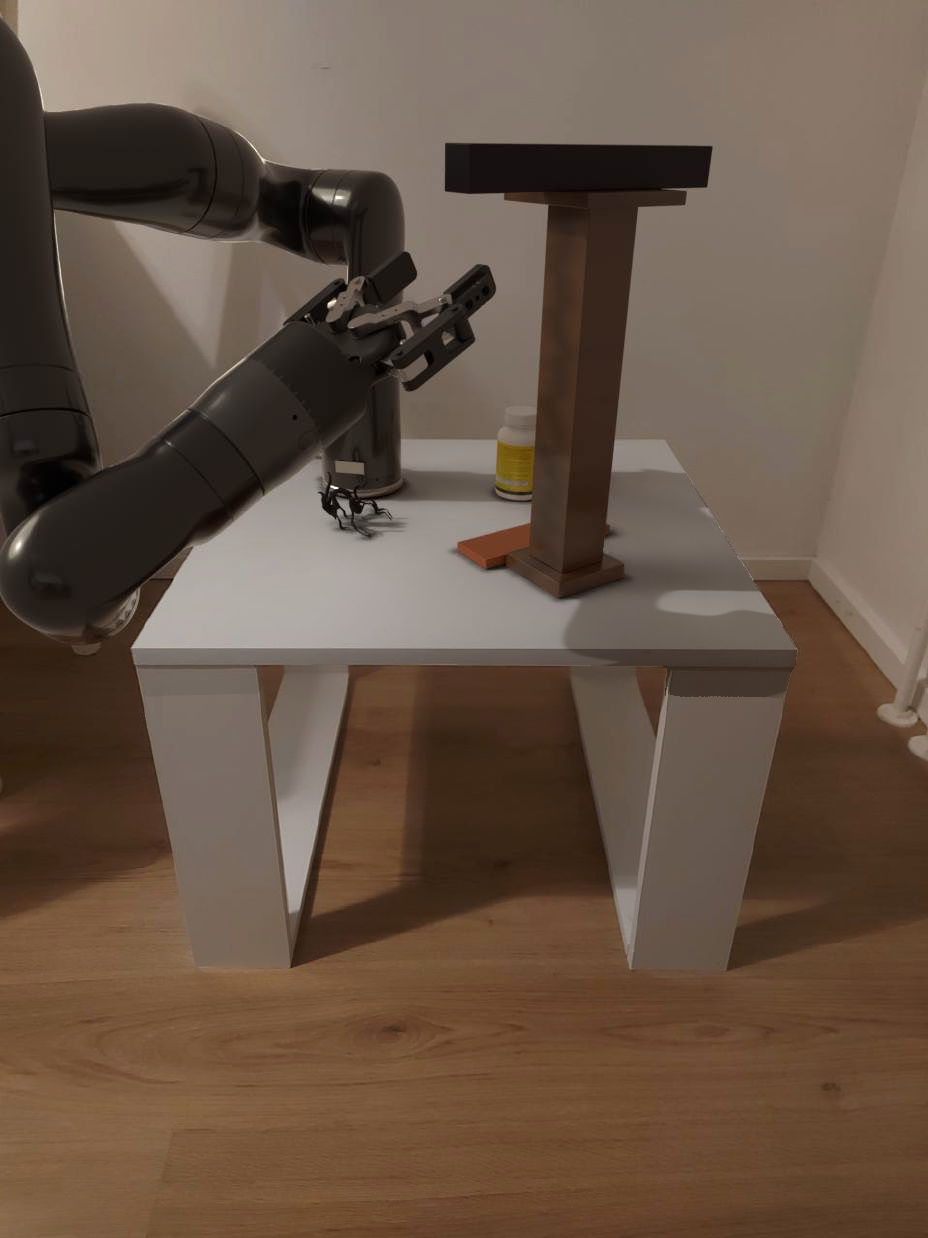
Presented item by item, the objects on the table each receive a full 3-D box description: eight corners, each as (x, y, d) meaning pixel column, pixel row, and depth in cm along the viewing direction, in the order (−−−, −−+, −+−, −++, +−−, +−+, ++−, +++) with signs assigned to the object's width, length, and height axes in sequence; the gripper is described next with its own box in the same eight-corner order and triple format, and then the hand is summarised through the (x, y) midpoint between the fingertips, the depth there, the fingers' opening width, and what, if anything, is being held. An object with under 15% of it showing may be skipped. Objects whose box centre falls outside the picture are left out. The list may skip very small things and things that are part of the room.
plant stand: (491, 565, 84) (503, 185, 68) (570, 542, 89) (599, 184, 73) (557, 606, 77) (588, 193, 61) (638, 579, 82) (687, 190, 66)
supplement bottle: (538, 503, 99) (543, 418, 94) (491, 499, 99) (494, 415, 95) (544, 487, 103) (549, 405, 98) (499, 483, 104) (502, 402, 99)
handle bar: (444, 142, 59) (470, 143, 57) (684, 144, 71) (713, 145, 69) (444, 191, 60) (469, 194, 58) (679, 185, 73) (707, 187, 71)
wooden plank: (457, 550, 87) (457, 541, 87) (578, 518, 95) (578, 509, 95) (486, 569, 83) (486, 560, 83) (609, 533, 91) (610, 524, 91)
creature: (393, 519, 97) (322, 503, 96) (402, 475, 94) (330, 457, 93) (385, 549, 90) (309, 531, 89) (395, 501, 87) (317, 483, 87)
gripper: (311, 385, 49) (502, 226, 53) (195, 342, 58) (366, 209, 63) (366, 483, 54) (535, 331, 59) (251, 429, 63) (405, 301, 68)
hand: (448, 268), depth 61 cm, fingers open, 8 cm apart
